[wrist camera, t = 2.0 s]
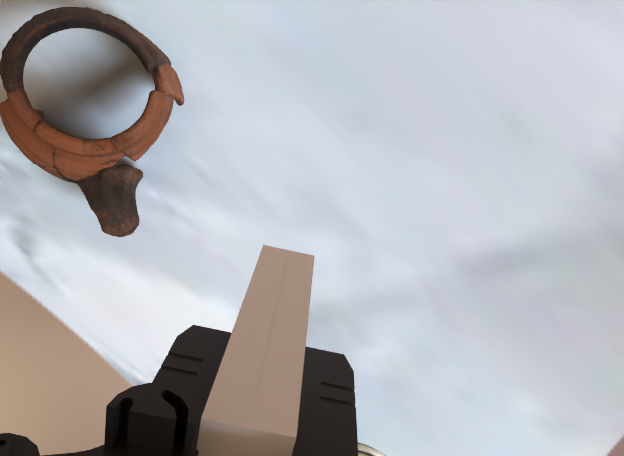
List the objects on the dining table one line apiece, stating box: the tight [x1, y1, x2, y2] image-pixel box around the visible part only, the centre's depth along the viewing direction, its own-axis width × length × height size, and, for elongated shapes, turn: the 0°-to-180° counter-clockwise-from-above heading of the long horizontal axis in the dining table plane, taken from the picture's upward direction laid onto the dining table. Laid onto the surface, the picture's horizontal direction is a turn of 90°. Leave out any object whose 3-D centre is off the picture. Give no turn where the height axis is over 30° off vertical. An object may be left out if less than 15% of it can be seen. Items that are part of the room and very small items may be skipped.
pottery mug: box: [0, 7, 184, 237], centre depth 26 cm, size 12×10×8 cm
